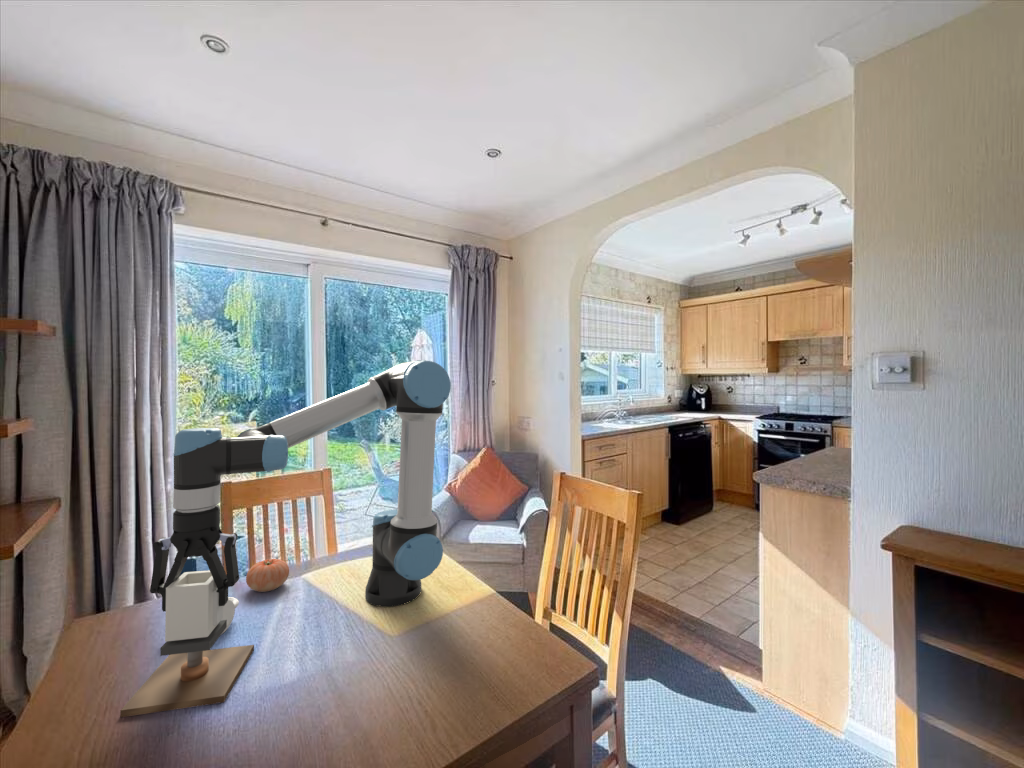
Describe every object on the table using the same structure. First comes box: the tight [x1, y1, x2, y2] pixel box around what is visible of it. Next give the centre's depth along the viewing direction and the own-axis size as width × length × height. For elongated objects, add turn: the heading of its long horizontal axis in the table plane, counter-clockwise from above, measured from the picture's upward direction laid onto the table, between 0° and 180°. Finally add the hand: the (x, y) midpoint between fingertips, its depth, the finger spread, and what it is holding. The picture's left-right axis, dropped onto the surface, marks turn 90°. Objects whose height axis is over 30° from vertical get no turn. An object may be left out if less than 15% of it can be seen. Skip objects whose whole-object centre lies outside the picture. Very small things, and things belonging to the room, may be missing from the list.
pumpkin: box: [245, 558, 290, 593], centre depth 123 cm, size 11×11×8 cm
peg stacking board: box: [119, 644, 255, 718], centre depth 85 cm, size 16×16×12 cm
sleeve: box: [164, 570, 218, 643], centre depth 85 cm, size 7×7×10 cm
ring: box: [159, 620, 227, 657], centre depth 85 cm, size 8×8×2 cm
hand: (195, 623), depth 85 cm, fingers closed on sleeve, 7 cm apart
